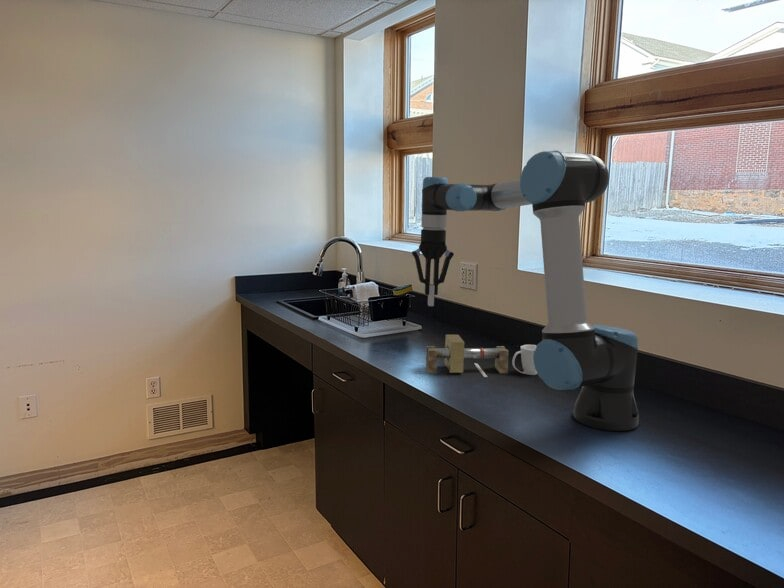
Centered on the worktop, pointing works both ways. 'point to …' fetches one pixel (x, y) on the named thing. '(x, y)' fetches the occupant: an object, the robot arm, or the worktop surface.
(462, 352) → the collar
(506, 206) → the robot arm
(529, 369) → the cup
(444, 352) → the pipe
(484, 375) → the tick mark
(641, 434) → the worktop surface
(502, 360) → the cradles
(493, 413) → the worktop surface
